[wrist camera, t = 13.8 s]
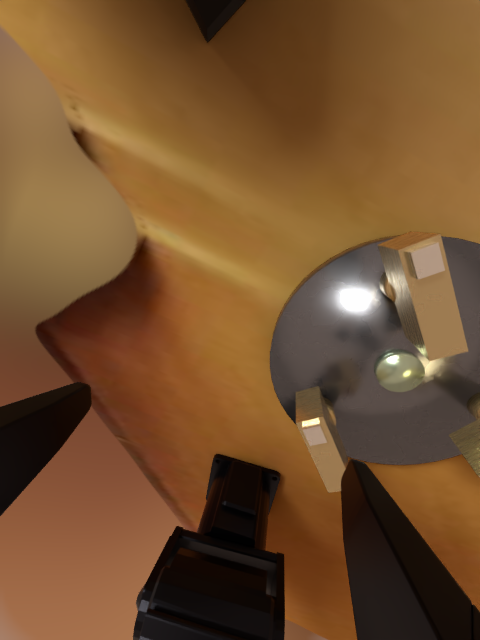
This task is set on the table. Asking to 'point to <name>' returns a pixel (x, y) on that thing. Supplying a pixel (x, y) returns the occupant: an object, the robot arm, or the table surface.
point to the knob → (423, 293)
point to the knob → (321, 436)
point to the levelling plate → (378, 358)
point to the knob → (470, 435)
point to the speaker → (212, 14)
